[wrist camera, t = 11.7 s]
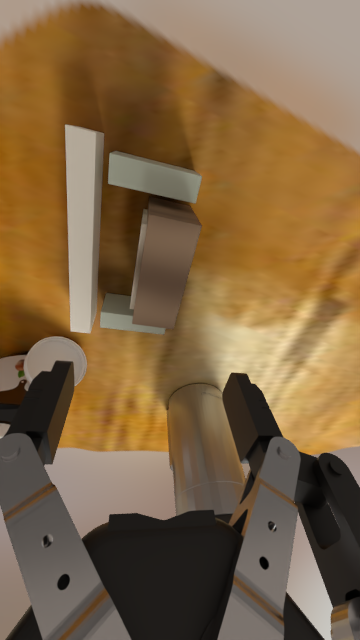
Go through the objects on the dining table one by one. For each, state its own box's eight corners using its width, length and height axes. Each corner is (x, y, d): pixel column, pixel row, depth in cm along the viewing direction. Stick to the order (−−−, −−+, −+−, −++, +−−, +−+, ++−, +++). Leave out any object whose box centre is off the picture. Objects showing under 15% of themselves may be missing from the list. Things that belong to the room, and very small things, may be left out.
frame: (169, 293, 30) (173, 329, 25) (132, 287, 29) (127, 323, 24) (190, 205, 25) (201, 225, 19) (145, 195, 24) (143, 213, 18)
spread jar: (1, 384, 36) (-51, 470, 27) (-13, 322, 30) (-87, 405, 21) (88, 391, 39) (68, 472, 30) (92, 335, 33) (69, 415, 23)
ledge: (161, 320, 32) (162, 341, 29) (79, 310, 30) (70, 331, 27) (197, 158, 22) (205, 161, 19) (78, 126, 20) (65, 124, 17)
